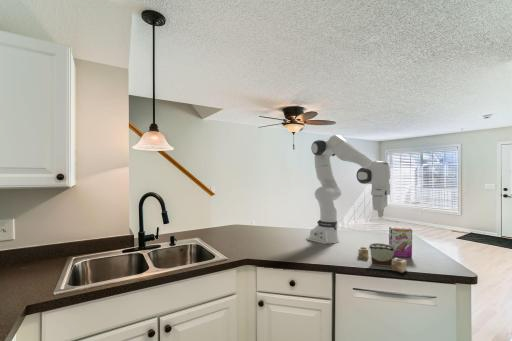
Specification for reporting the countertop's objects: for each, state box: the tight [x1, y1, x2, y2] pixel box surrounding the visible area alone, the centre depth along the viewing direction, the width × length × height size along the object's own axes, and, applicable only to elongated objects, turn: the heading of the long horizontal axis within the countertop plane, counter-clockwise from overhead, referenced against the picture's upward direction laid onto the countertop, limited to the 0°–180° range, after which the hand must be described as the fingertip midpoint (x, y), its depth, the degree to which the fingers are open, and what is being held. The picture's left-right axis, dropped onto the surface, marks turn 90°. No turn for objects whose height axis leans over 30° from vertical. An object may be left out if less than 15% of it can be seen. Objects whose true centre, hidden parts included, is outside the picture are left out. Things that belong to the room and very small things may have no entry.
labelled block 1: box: [357, 246, 369, 260], centre depth 144 cm, size 5×5×5 cm
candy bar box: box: [388, 226, 413, 259], centre depth 145 cm, size 11×5×16 cm, turn 77°
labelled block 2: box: [391, 257, 408, 273], centre depth 126 cm, size 5×5×5 cm
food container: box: [368, 243, 395, 268], centre depth 134 cm, size 12×6×10 cm, turn 71°
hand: (380, 216), depth 134 cm, fingers closed
